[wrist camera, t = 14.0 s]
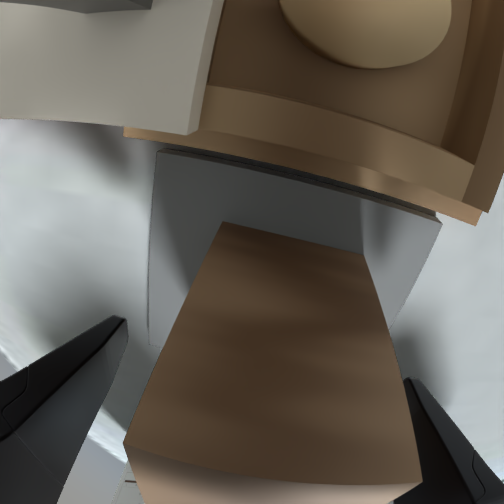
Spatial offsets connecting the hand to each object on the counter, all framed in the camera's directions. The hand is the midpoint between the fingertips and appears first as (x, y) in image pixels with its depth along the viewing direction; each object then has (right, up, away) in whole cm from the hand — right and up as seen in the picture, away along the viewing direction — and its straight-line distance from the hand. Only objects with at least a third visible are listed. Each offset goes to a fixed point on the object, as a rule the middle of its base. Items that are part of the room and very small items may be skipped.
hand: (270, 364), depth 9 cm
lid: (-5, +11, -5) cm, 13 cm away
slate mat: (0, +2, +3) cm, 4 cm away
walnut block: (0, +2, +3) cm, 3 cm away
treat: (+2, +10, -3) cm, 11 cm away
